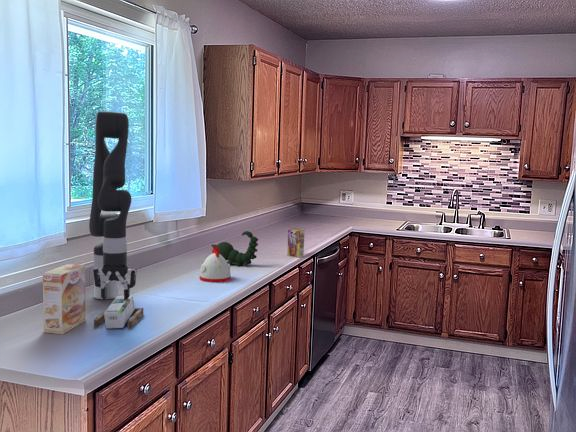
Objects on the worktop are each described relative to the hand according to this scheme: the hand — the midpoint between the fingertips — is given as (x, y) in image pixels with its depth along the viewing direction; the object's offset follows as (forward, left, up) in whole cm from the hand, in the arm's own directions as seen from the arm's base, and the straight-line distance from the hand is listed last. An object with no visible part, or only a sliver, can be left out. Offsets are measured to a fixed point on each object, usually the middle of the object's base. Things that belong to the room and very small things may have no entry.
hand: (115, 299), depth 200 cm
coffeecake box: (+3, -16, -9) cm, 18 cm away
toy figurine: (-103, +29, -9) cm, 107 cm away
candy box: (-131, +60, -9) cm, 144 cm away
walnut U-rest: (-5, 0, -9) cm, 10 cm away
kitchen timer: (-71, +24, -9) cm, 75 cm away
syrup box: (+5, +1, -6) cm, 8 cm away
